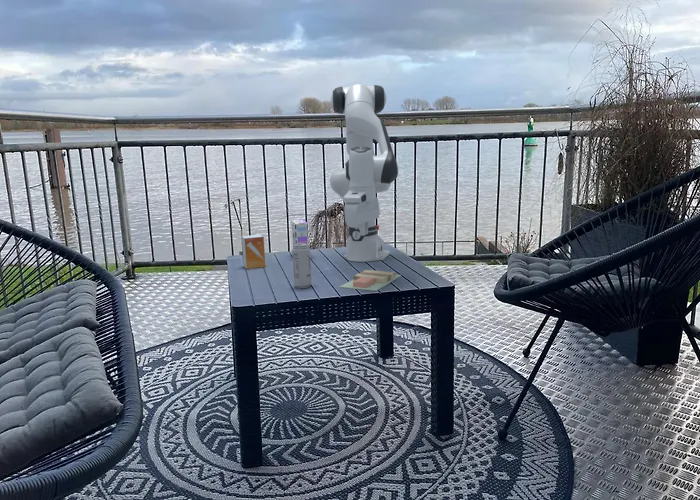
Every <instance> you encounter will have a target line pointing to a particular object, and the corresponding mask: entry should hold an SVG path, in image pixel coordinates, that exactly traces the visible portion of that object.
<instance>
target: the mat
mask: <svg viewBox="0 0 700 500" xmlns="http://www.w3.org/2000/svg"><path fill="white" fill-rule="evenodd" d="M400 277H402V274H396V277H394V278H393V279H391V280H389V281H388V282H386V283H374V284H372V285H370V286H369V287H367V288H362V287H353V281H354V278H353V279H352V280H349V281H347V282H346V283H344V284H342V285H340V286H339V289H341V288H342V289H352V290H360V291H361V290H363V291H371V292H373V291H374V292H377V291H379V290H380V289H383V288H384V287H386V286H387V285H389V284H390V283H392V282H394V281H395V280H398V279H399V278H400Z"/></svg>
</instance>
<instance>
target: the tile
mask: <svg viewBox="0 0 700 500" xmlns="http://www.w3.org/2000/svg"><path fill="white" fill-rule="evenodd" d="M374 283H375V278H370V277H361V278H359V279H357V280H355V281H353V287H362V288H367V287H369V286H370V285H372V284H374Z"/></svg>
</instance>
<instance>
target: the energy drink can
mask: <svg viewBox="0 0 700 500" xmlns="http://www.w3.org/2000/svg"><path fill="white" fill-rule="evenodd" d="M292 247H293V246H292ZM291 251H292V269H293V270H292V271H293V282H294V283H293V284H294V286H295V287H296V288H297V289H307V288H310V287H311V285H312V270H311V269H312V267H311V254H310V253H311V251H310V246H309V247H308V244H306V243H299V244H294V247H293V248H292V249H291Z"/></svg>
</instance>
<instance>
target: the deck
mask: <svg viewBox="0 0 700 500" xmlns="http://www.w3.org/2000/svg"><path fill="white" fill-rule="evenodd" d="M396 275H397V274H396V271H387V270H386V271H385V270H384V271H383V270H373V269H365V270H363V271H361V272H359V273H357V274H355V275H353V279H354V281H355V280H357V279H359V278H361V277H370V278H375V283H386V282H388V281H389V280H391V279H393V278H394V277H396Z"/></svg>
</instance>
